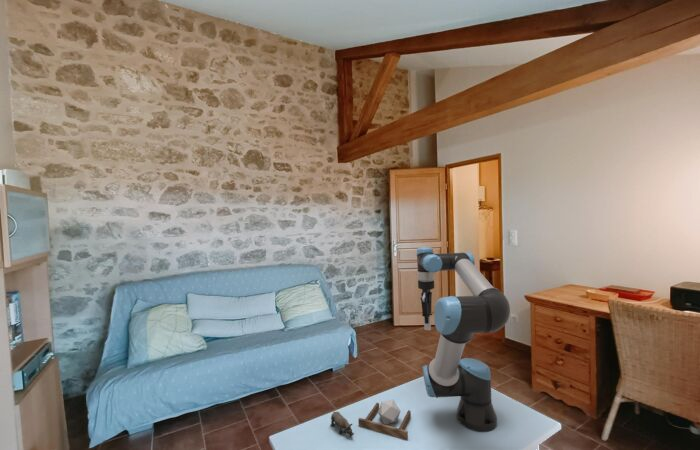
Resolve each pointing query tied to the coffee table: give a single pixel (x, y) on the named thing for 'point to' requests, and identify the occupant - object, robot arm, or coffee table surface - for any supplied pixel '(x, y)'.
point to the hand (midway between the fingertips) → (427, 329)
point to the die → (389, 411)
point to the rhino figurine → (341, 423)
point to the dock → (383, 428)
